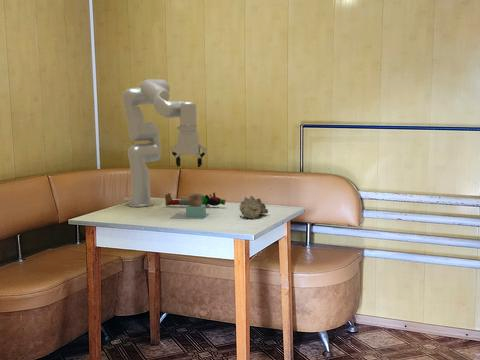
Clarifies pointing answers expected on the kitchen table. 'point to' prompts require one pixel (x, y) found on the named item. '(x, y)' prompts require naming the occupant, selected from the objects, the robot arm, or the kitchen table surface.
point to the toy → (205, 201)
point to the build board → (183, 216)
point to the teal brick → (196, 211)
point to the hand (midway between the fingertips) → (188, 166)
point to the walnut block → (195, 200)
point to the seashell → (252, 207)
